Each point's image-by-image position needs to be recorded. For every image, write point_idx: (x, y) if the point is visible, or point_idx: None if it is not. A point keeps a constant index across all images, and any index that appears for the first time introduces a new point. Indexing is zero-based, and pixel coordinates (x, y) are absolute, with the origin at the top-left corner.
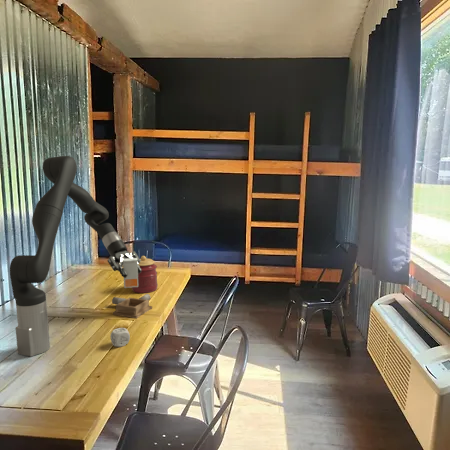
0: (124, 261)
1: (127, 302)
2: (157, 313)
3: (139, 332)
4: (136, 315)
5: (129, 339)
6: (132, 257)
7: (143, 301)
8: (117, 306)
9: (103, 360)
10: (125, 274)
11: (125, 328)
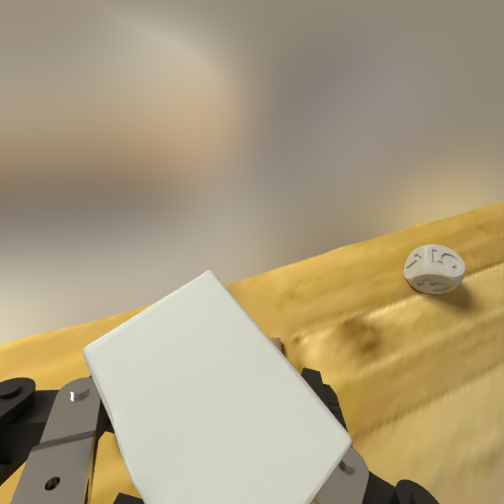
0: (337, 420)
1: None
2: None
3: (350, 272)
4: (277, 341)
5: (412, 252)
6: (16, 489)
7: None
8: None
9: (487, 263)
10: (319, 380)
11: (426, 254)
